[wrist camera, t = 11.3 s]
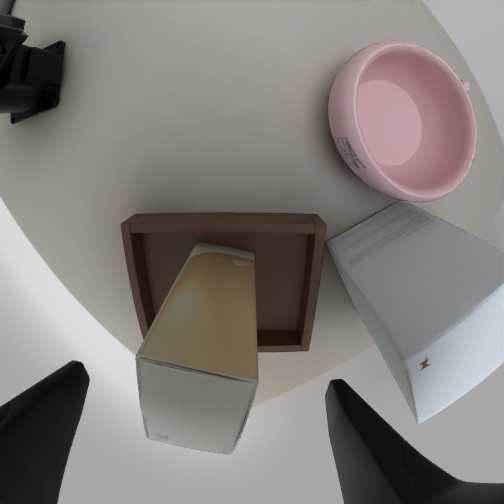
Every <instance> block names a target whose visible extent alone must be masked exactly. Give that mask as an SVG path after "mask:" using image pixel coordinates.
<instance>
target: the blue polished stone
mask: <svg viewBox="0 0 504 504" xmlns="http://www.w3.org/2000/svg"><path fill="white" fill-rule="evenodd" d="M10 6H11V0H0V14H7V15H8V13H9V10H10Z"/></svg>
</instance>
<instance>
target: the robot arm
mask: <svg viewBox="0 0 504 504" xmlns="http://www.w3.org/2000/svg"><path fill="white" fill-rule="evenodd" d="M24 25H25V20H23V19H20V18H17V17H14V16H11V15H7V14H0V113H11V123H12V124H16V123H18V122H21V121H23V120H25V119H28V118H30V117H32V116H35V115H37V114H40V113H43V112H45V111H48V110H51V109H54V108H55V107H56V106H57V105H58V101H59V88H60V78H61V69H62V62H63V55H64V49H65V42H63V41H58V42H56V43H54V44H52V45H50V46H48V47H46V48H44V49H40V48H36V47H29V46H26V45H22V43H23V42H25V40H26V38H27V37H28V35H27V34H26V33H24V32H23V30H24ZM59 46H60V47H59ZM53 101H54V103H53ZM52 103H53V105H52ZM89 382H90V380H89V375H88V373H87V371H86V369H85V367H84V365H83V363H81V362H79V361H71V362H69V363H68V364H66V365H65V366H63V367H61V368H60V369H58V370H57V371H55V372H53V373H52V374H50V375H49V376H47V377H46V378H44V379H43V380H41V381H39V382H38V383H36V384H35V385H33V386H32V387H30V388H29V389H27V390H25V391H24V392H22V393H21V394H19V395H18V396H16V397H15V398H13V399H11V400H10V401H8V402H7V403H5V404H4V405H2V406H0V504H57V502H58V497H59V492H60V488H61V483H62V479H63V475H64V471H65V467H66V463H67V460H68V456H69V453H70V449H71V446H72V442H73V439H74V436H75V432H76V430H77V426H78V424H79V421H80V417H81V414H82V410H83V406H84V402H85V398H86V394H87V389H88V386H89ZM325 401H326V411H327V420H328V430H329V437H330V442H331V446H332V450H333V455H334V459H335V464H336V468H337V472H338V477H339V482H340V486H341V491H342V495H343V500H344V504H504V483H500V484H499V483H497V484H496V483H473V482H465V481H461V480H459V479H456V478H455V477H453V476H451V475H450V474H448V473H447V472H445V471H444V470H442V469H441V468H439V467H438V466H437V465H435V464H434V463H432V462H431V461H430V460H428V459H427V458H425V457H424V456H423V455H422V454H420V453H419V452H418V451H417V450H416V449H415V448H413V447H412V446H411V445H410V444H409V443H408V442H407V441H404V438H403V437H402V436H400V434H398V433H397V432H396V431H395V430H394V429H393V428H392V427H391V426H390V425H389V424H388V423H387V422H386V421H385V420H384V419H383V418H382V417H381V416H380V415H379V414H378V413H377V412H376V411H374V410H373V409H372V408H371V407H370V406H369V405H368V404H367V403H366V402H365V401H364V400H363V399H362V398H361V397H360V396H359V395H358V394H357V393H356V392H355V391H354V390H353V389H352V388H351V387H350V386H349V385H348V384H347V383H346V382H345V381H344V380H342V379H335V380H331V381H330V383H329V386H328V389H327V392H326V395H325Z"/></svg>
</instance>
